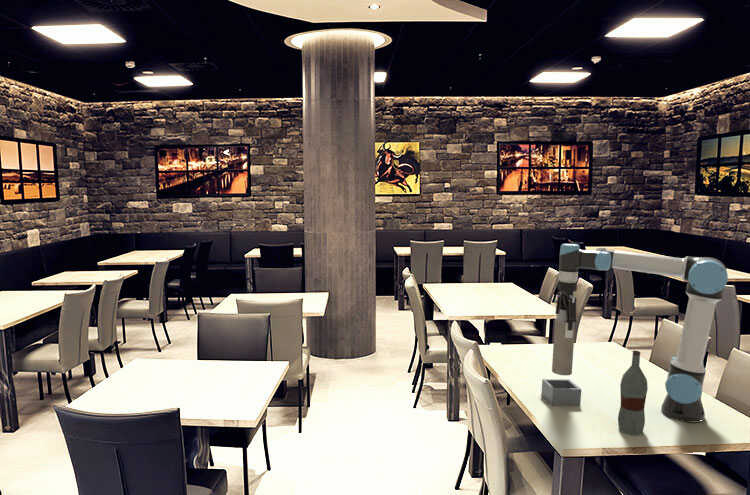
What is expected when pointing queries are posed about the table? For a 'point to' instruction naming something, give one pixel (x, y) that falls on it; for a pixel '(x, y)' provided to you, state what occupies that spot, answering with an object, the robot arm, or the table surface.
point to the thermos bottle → (562, 346)
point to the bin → (561, 392)
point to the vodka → (633, 398)
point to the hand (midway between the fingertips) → (564, 334)
